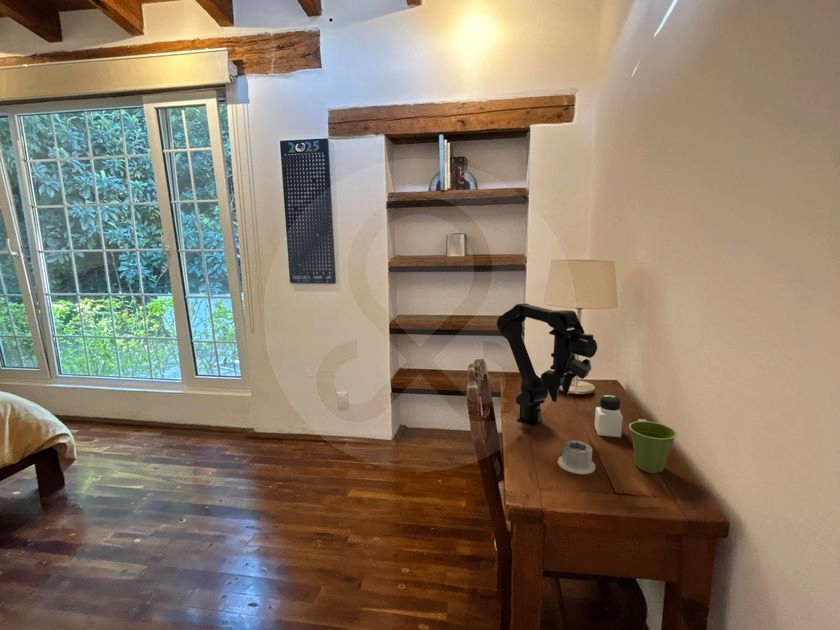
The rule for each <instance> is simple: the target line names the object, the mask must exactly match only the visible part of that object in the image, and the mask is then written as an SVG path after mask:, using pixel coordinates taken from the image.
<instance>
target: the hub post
mask: <svg viewBox="0 0 840 630" xmlns="http://www.w3.org/2000/svg"><path fill="white" fill-rule="evenodd" d="M573 449H575V450H581V449H579V448H573ZM557 465H558V466H559V467H560V468H561V469H562V470H563V471H566V472H568V473H571V474H575V475H590V474H592V473H594V472H595V470H596V464H595V463H594V461H593V460H592V461H591V466H590V467H589V468H588V469H584V470H576V469H573V468H570V467H567V466H566V465H565V464H564V463H563V462H562V455H561V456H559V457H558V459H557Z"/></svg>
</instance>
